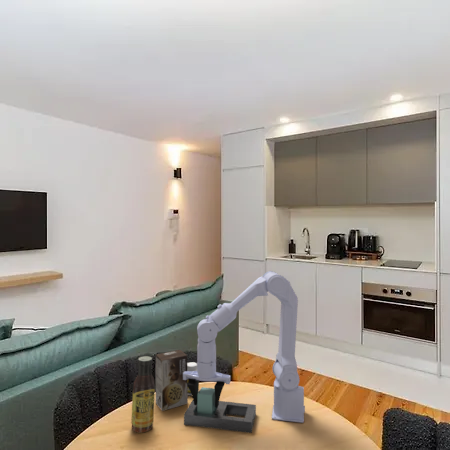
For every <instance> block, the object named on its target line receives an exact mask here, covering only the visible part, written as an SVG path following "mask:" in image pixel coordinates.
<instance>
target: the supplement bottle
mask: <svg viewBox="0 0 450 450" xmlns="http://www.w3.org/2000/svg"><path fill="white" fill-rule="evenodd" d="M187 371H197V362H194V361H193V362H187ZM187 383H188V379H187ZM199 391H200V385H199V386H198V392H199ZM188 396H192V394H191V392H190V390H189V388H188Z"/></svg>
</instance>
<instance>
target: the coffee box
mask: <svg viewBox="0 0 450 450" xmlns="http://www.w3.org/2000/svg"><path fill="white" fill-rule="evenodd" d="M187 363H188V355H187V354H186V353H185V351H182V350H181V349H175V350H170V351H167V352H162V353H155V404H156V406H158V408H159V409H160V410H161V411H162V412H164V411H167V410H170V409H174V408H177V407H180V406H183V405H187V404H188V402H189V398H188V397H189V395H188V386H187V380H183V373H184V372H185V371H187Z"/></svg>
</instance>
